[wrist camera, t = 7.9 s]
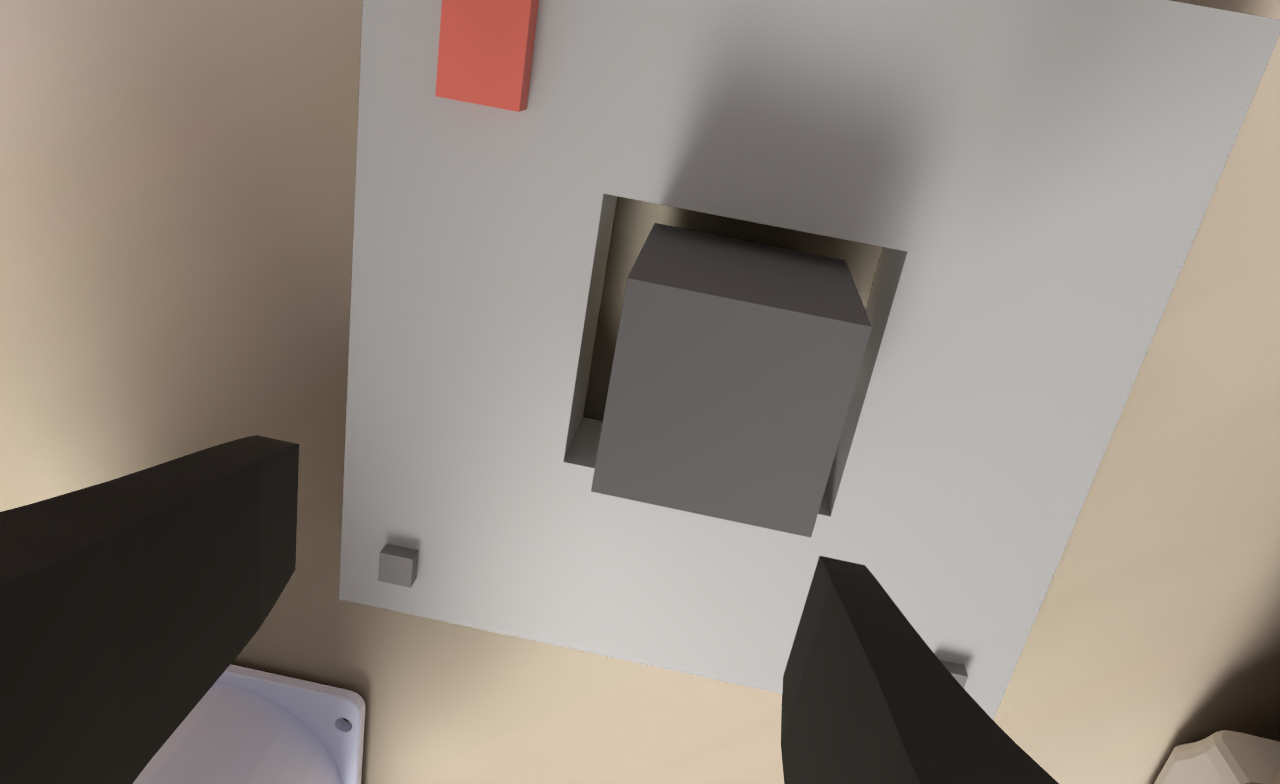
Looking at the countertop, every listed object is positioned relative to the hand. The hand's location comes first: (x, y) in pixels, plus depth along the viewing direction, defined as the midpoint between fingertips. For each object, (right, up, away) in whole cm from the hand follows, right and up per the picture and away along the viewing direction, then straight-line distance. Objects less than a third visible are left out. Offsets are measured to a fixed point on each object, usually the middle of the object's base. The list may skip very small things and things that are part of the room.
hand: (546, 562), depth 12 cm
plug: (+3, +4, +9) cm, 10 cm away
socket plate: (+3, +4, +9) cm, 10 cm away
